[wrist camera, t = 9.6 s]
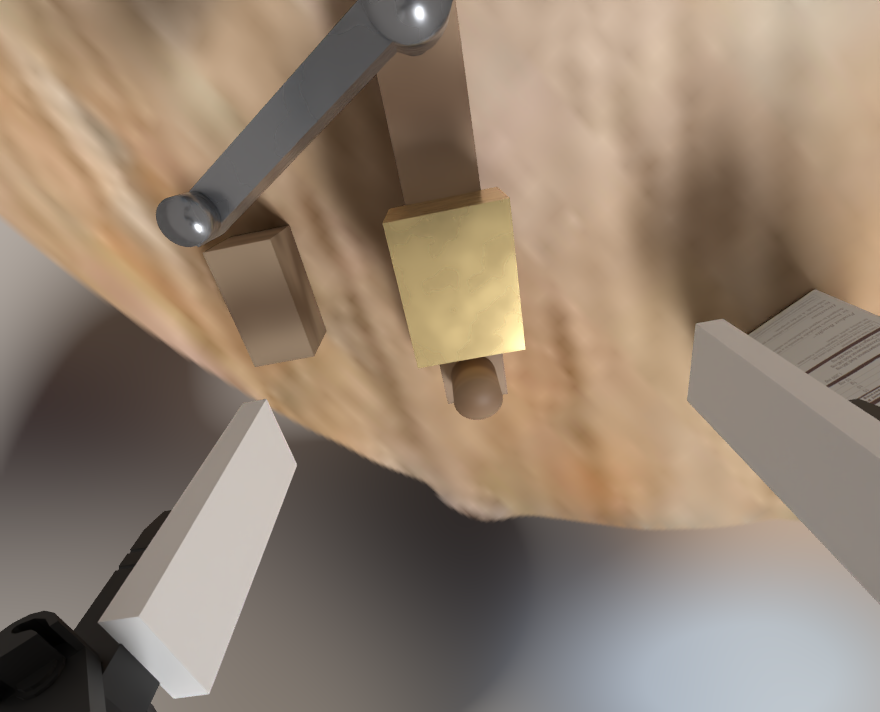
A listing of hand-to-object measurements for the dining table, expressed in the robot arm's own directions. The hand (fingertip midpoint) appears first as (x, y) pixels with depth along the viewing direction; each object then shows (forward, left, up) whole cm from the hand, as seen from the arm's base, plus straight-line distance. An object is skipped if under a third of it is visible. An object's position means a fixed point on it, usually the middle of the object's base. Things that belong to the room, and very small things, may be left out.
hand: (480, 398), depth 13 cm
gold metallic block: (0, 0, -14) cm, 14 cm away
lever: (-9, -5, -9) cm, 14 cm away
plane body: (-2, 0, -19) cm, 19 cm away
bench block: (0, -12, -19) cm, 22 cm away
